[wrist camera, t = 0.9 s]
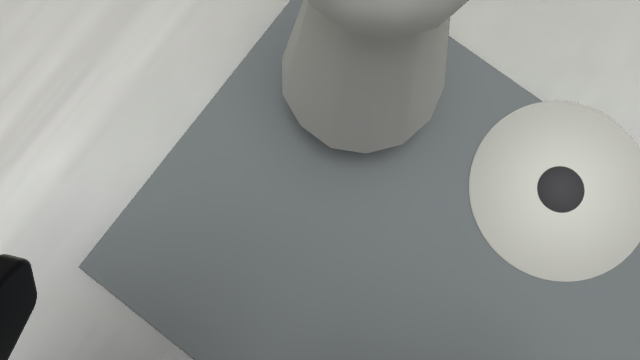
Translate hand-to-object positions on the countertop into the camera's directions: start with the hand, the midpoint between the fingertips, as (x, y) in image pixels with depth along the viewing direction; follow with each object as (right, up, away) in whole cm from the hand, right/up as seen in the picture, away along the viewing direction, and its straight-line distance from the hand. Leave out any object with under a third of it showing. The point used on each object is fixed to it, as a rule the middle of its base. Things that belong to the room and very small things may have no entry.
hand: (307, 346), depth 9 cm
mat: (+6, -2, +14) cm, 15 cm away
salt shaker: (+2, +6, +15) cm, 16 cm away
